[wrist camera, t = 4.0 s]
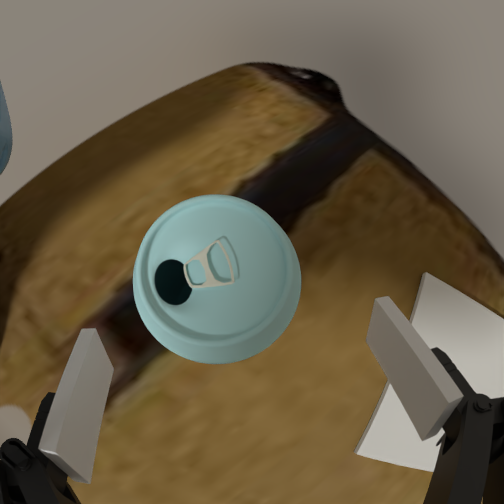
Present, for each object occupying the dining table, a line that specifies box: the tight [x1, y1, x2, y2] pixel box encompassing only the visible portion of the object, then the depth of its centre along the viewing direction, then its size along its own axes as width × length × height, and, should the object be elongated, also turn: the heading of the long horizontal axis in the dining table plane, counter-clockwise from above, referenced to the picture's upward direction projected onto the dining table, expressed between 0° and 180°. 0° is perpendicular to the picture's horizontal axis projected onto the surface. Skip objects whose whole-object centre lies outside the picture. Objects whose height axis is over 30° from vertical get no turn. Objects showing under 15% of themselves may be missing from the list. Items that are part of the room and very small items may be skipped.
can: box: [133, 195, 301, 364], centre depth 17 cm, size 7×7×12 cm
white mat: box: [354, 272, 504, 472], centre depth 21 cm, size 16×16×1 cm
